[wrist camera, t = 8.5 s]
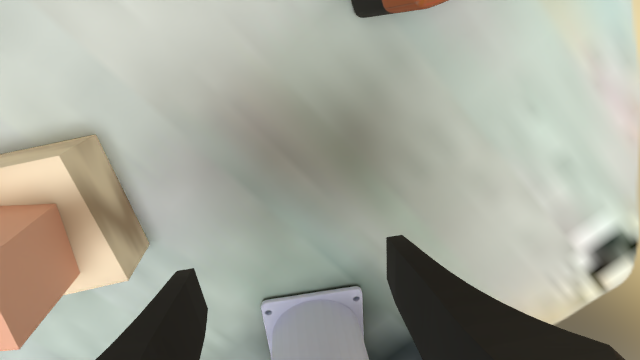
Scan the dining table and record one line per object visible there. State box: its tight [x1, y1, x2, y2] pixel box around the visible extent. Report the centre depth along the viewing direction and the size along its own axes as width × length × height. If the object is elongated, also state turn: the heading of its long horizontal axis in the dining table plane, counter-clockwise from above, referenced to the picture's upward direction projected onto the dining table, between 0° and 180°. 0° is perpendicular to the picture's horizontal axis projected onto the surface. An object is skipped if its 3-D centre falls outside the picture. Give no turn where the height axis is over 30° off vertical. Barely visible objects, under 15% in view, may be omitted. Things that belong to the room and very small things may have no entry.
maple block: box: [0, 134, 150, 295], centre depth 20 cm, size 8×8×4 cm
